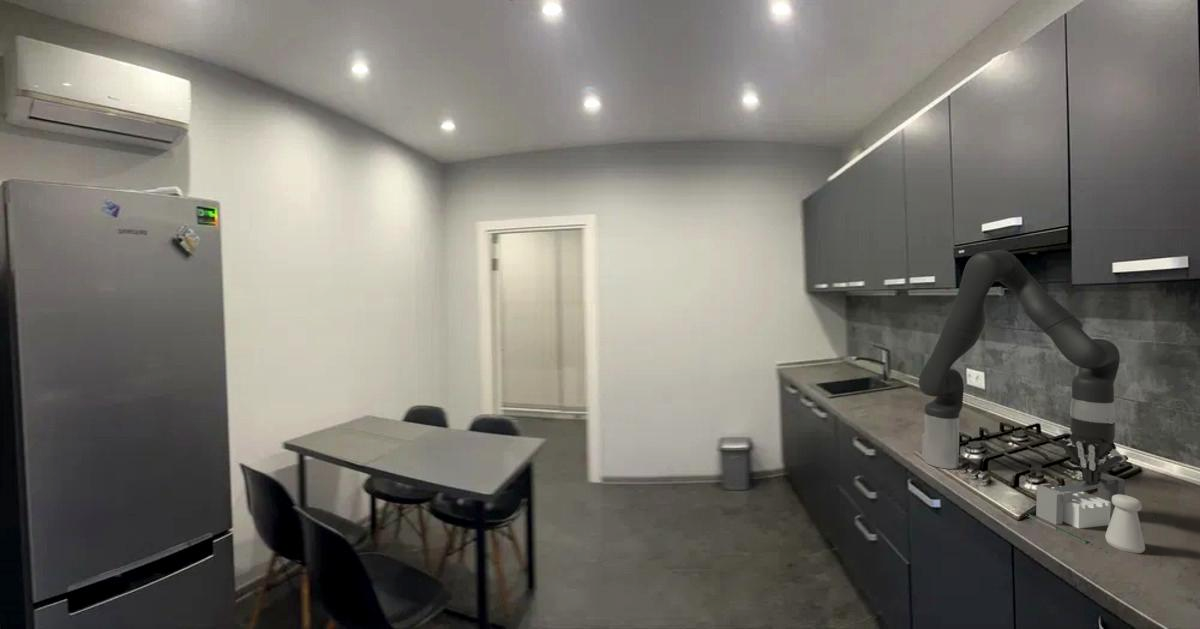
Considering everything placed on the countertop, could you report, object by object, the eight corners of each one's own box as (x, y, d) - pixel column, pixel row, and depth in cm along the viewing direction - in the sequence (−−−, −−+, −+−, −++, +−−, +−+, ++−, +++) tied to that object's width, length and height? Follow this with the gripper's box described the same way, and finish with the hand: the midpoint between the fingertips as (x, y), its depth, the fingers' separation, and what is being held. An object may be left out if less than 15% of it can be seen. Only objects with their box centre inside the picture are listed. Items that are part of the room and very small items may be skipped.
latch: (1088, 509, 112) (1089, 474, 111) (1103, 508, 112) (1104, 473, 111) (1108, 517, 108) (1109, 481, 107) (1123, 516, 108) (1125, 479, 107)
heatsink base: (1012, 509, 116) (1012, 475, 115) (1077, 501, 118) (1078, 469, 118) (1084, 543, 100) (1086, 505, 99) (1158, 534, 102) (1160, 496, 102)
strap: (1046, 492, 109) (1045, 487, 109) (1088, 482, 111) (1088, 477, 110) (1061, 499, 106) (1060, 493, 106) (1104, 488, 107) (1103, 483, 107)
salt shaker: (1135, 562, 93) (1137, 505, 92) (1098, 547, 98) (1100, 493, 98) (1151, 556, 95) (1153, 500, 94) (1114, 542, 100) (1115, 489, 99)
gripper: (1049, 411, 114) (1048, 473, 115) (1113, 426, 101) (1112, 496, 102) (1073, 408, 115) (1072, 470, 116) (1140, 423, 101) (1139, 493, 102)
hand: (1091, 482), depth 109 cm, fingers closed
